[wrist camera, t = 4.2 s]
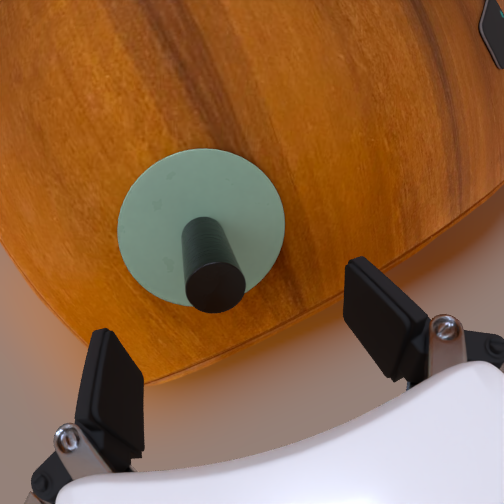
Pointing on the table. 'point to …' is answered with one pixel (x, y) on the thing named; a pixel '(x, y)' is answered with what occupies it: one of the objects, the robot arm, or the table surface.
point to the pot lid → (201, 228)
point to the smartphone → (493, 31)
